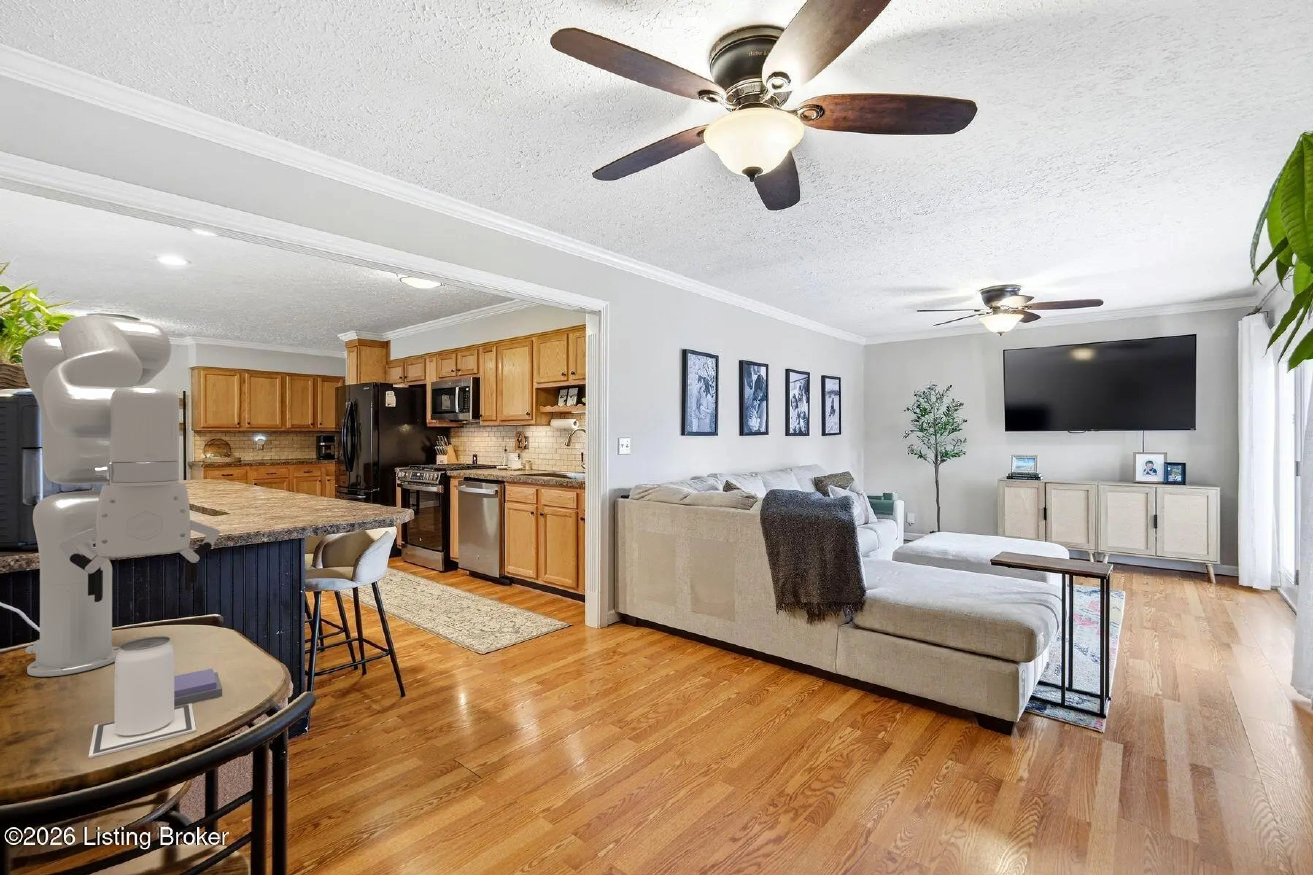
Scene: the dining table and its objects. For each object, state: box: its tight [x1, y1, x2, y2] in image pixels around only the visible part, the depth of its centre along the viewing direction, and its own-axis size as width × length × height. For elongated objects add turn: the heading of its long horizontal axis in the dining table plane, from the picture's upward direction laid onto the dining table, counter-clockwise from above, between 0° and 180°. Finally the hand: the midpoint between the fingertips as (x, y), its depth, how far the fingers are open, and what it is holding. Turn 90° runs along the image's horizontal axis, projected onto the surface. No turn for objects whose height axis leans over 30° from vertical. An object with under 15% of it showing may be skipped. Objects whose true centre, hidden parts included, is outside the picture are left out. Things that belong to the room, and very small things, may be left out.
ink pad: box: [174, 668, 223, 707], centre depth 97 cm, size 9×9×2 cm
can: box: [114, 635, 175, 737], centre depth 85 cm, size 6×6×12 cm
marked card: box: [88, 703, 197, 759], centre depth 85 cm, size 11×11×1 cm
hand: (144, 594), depth 85 cm, fingers open, 9 cm apart
